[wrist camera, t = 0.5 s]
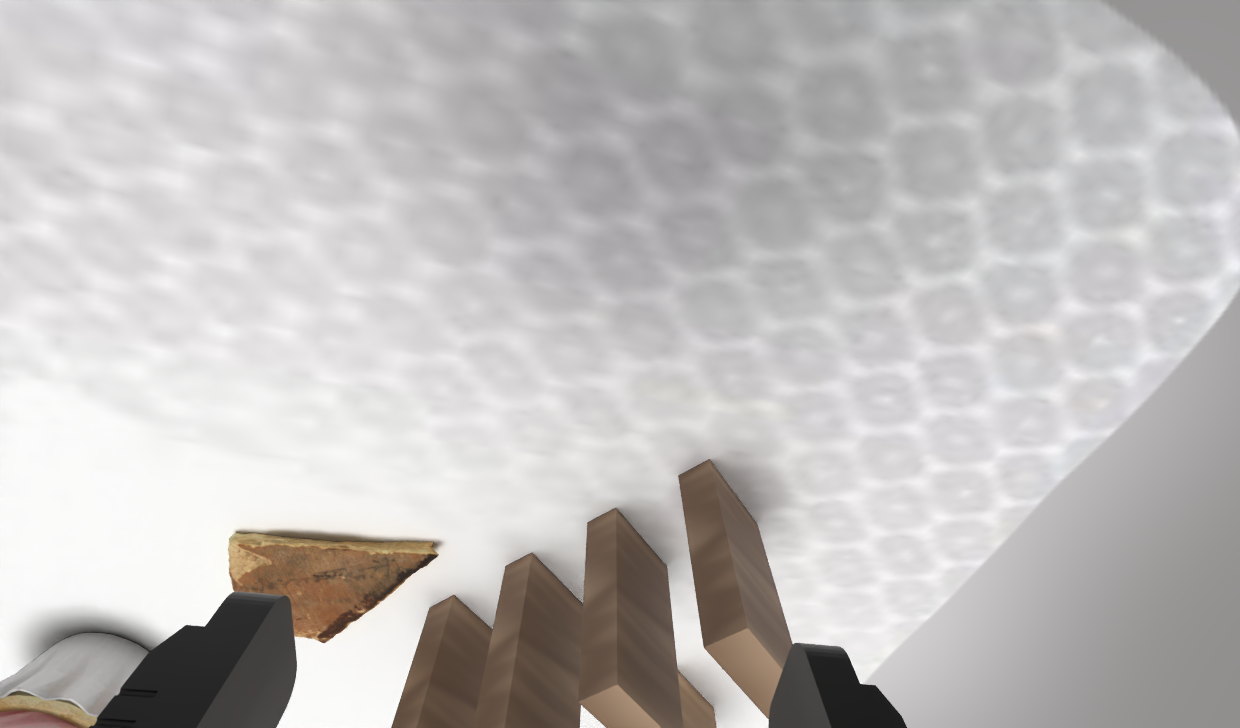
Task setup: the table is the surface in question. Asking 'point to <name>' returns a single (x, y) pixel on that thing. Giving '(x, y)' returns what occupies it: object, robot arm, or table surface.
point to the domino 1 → (445, 669)
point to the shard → (323, 576)
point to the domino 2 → (532, 653)
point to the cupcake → (69, 682)
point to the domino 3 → (627, 631)
